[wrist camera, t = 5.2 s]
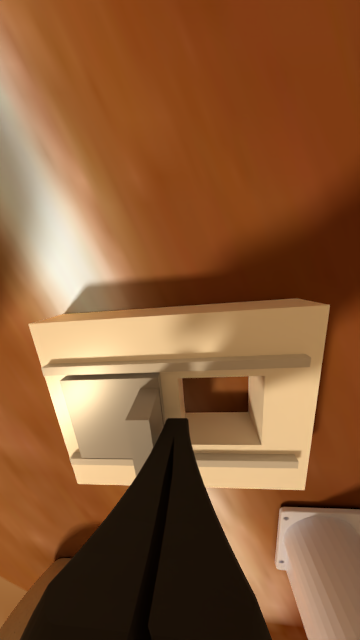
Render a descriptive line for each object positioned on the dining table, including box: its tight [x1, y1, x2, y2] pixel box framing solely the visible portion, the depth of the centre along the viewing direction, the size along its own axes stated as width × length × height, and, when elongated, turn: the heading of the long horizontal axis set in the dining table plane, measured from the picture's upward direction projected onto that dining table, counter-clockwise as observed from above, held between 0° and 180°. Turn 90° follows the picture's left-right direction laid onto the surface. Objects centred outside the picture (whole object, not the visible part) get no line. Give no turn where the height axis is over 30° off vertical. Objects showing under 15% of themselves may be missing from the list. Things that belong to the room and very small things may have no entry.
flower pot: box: [0, 558, 72, 640], centre depth 19 cm, size 10×10×7 cm
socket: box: [29, 298, 330, 490], centre depth 13 cm, size 14×18×4 cm
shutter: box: [60, 373, 166, 476], centre depth 11 cm, size 6×6×3 cm
